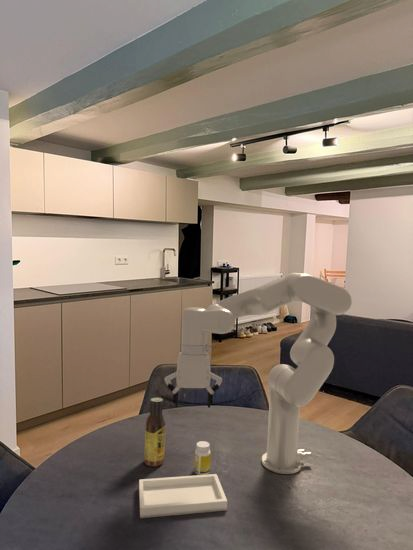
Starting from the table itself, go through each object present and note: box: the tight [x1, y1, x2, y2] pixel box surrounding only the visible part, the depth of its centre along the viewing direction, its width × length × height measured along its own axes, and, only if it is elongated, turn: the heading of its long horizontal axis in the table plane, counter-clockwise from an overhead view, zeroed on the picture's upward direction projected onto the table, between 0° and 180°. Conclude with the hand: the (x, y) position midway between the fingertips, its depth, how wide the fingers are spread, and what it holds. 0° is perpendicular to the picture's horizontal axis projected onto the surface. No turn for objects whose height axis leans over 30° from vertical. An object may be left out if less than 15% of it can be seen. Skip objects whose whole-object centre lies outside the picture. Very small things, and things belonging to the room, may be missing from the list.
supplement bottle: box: [193, 440, 212, 475], centre depth 116 cm, size 5×5×8 cm
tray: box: [138, 473, 228, 519], centre depth 102 cm, size 22×12×2 cm, turn 101°
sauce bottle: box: [143, 397, 167, 468], centre depth 120 cm, size 7×6×20 cm
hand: (192, 405), depth 115 cm, fingers open, 9 cm apart
